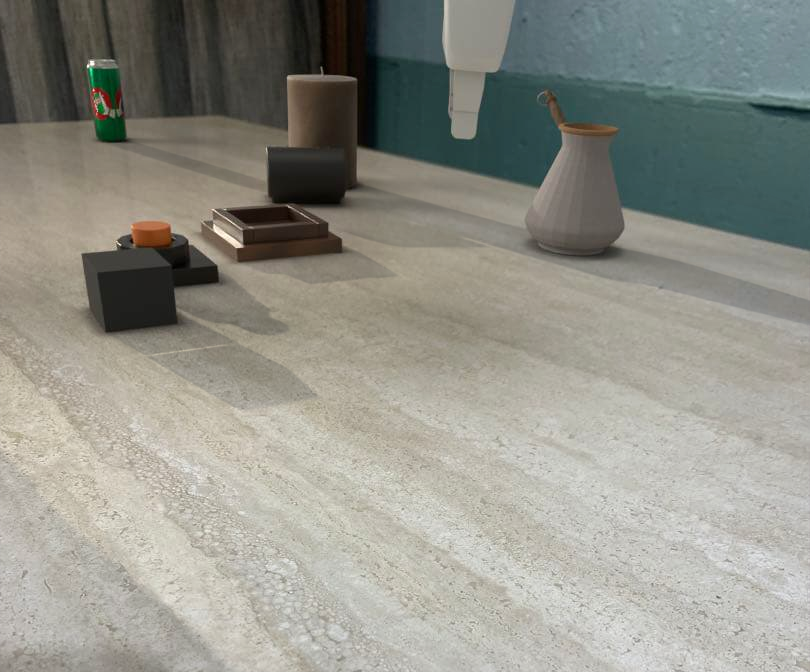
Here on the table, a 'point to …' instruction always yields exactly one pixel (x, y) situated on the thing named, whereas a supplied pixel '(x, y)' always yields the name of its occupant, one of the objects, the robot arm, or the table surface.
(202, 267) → the dark piece
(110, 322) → the black block
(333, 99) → the pillar candle
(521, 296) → the table surface
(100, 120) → the soda can
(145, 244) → the button
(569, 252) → the coffee pot
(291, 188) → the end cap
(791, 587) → the table surface
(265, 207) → the tray
